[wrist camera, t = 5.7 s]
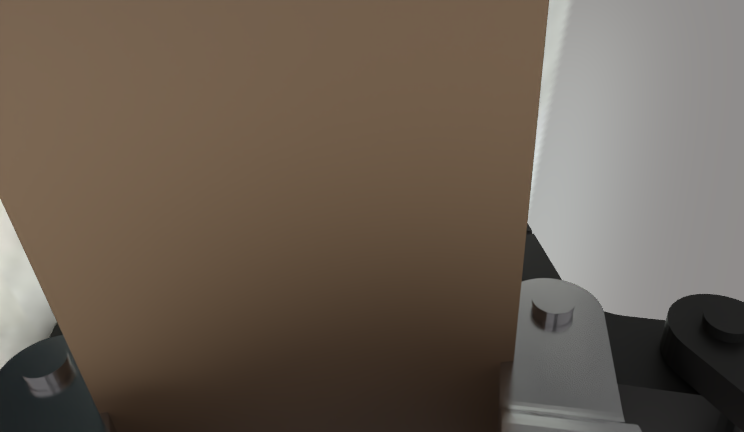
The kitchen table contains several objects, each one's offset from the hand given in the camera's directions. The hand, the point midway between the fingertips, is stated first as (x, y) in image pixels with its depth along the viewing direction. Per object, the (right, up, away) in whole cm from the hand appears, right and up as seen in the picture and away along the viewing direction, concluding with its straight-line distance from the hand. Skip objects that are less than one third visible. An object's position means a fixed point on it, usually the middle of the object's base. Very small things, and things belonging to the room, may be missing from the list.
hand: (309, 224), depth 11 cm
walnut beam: (0, 0, +1) cm, 1 cm away
